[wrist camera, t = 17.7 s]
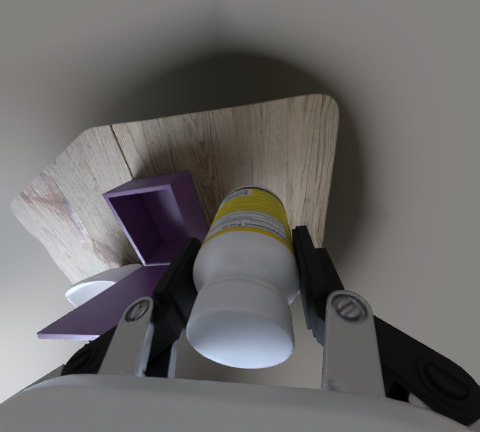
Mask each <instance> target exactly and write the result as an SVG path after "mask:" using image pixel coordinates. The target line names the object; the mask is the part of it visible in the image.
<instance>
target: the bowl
mask: <svg viewBox="0 0 480 432" xmlns="http://www.w3.org/2000/svg"><path fill="white" fill-rule="evenodd" d="M142 266H143V265H141V264H129V265H125V266H123V267H121V268H114V269H110V270H106V271H104V272H101V273H99V274H97V275H94V276H92V277H89V278H87V279H85V280H82V281H80V282H78V283H75V284H74V285H73V286H71V287H70V288H69V289H68V291H67V292H66V295H65V296H66V297H67V299H68V300H69V301H70V302H71V303H72V304H73V305H74V306H75V307H76V308H77V307H79V306H80V305H82V304H84V303H85V302H87V301H88V300H90V299H91V298H93V297H95V296H96V295H98V294H99V293H101V292H103V291H104V290H106V289H107V288H109V287H110V286H112V285H114V284H115V283H117V282H118V281H120V280H122V279H123V278H125V277H126V276H128V275H129V274H131V273H133V272H134V271H136V270H137V269H139V268H140V267H142Z"/></svg>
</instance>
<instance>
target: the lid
mask: <svg viewBox="0 0 480 432" xmlns="http://www.w3.org/2000/svg"><path fill="white" fill-rule="evenodd" d="M168 266H169V265H153V266H142V267H140V268H139V269H137V270H136V271H134V272H133V273H131V274H129V275H128V276H126V277H125V278H123V279H122V280H120V281H118V282H117V283H115V284H114V285H112V286H110V287H109V288H107V289H106V290H104V291H103V292H101V293H99V294H98V295H96V296H95V297H93V298H91V299H90V300H88V301H87V302H85V303H84V304H82V305H80V306H79V307H77V308H76V309H74V310H73V311H71V312H69V313H68V314H66V315H65V316H63V317H62V318H60V319H58V320H57V321H55V322H54V323H52V324H50V325H49V326H47V327H46V328H44V329H43V330H41V331H39V332H38V333H37V335H38V338H40V339H64V340H85V342H86V344H85V345H87V344H88V343H90V342H91V341H93V340H94V339H96V338H97V337H99V336H100V335H102V334H104V333H105V332H107V331H108V330H110V329H111V328H113V327H114V326H116V325H117V324H119V321H120V319H121V317H122V314H123V313H124V311H125V309H126V308H127V307H128V306H129V305H130V304H131V303H132V302H134V301H135V300H137V299H139V298H141V297H146V296H147V297H151V296H152V295H153V290H154V289H155V287H156V285H157V284H158V282H159V281H160V279H161V278H162V276H163V274H164V273H165V271H166V270H167V268H168ZM85 345H84V346H85Z"/></svg>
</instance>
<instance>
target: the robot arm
mask: <svg viewBox="0 0 480 432" xmlns="http://www.w3.org/2000/svg"><path fill="white" fill-rule="evenodd" d="M292 237H293V245H294V250H295V254H296V258H297V263H298V268H299V273H300V286H299V290H300V295H301V299H302V305H303V309H304V315H305V320H306V324H307V329H312V332H313V336H314V337H316V339H317V342H318V343H320V344H321V345H322V346H323V347H324V352H323V367H322V384H321V390H319V389H309V388H295V387H283V386H270V385H255V384H243V383H229V382H215V381H214V382H213V381H200V380H187V379H174V377H175V366H176V357H177V347H178V339H179V337H180V335H186V327H187V323H188V320H189V318H190V315H191V312H192V309H193V306H194V303H195V300H196V298H197V296H198V291H197V290H196V287H195V285H194V280H193V266H194V263H195V260H196V257H197V255H198V253H199V250H200V248H201V246H202V244H201V241H200V239H197V237H190V238H186V239H185V241H184V243H183V244H182V246H181V247H180V249H179V250H178V252H177V254H176V255H175V257H174V258H173V260H172V262H171V263H170V265H169V266H168V268H167V270H166V271H165V273H164V274H163V276H162V278H161V279H160V281H159V282H158V284H157V285H156V287H155V289H154V290H153V295H152V296H151V297H147V296H146V297H141V298H139V299H137V300H135V301H134V302H132V303H131V304H130V305H129V306H128V307H127V308H126V309H125V311H124V313H123V314H122V317H121V319H120V321H119V324H117V325H116V326H114V327H113V328H111V329H110V330H108V331H107V332H105V333H104V334H102V335H100V336H99V337H97V338H96V339H94V340H93V341H91V342H90V343H88V344H87V345H85V346H84V347H83V348H81V349H80V350H78V351H77V352H76V353H75V354H74V355H73V356H72V357H71V358H70V360H69V361H68V362H67V363H66V365H64V364H63V365H61V366H60V367H58V368H57V369H55V370H53V371H52V372H50V373H48V374H47V375H45V376H44V377H42V378H41V379H39V380H37V381H36V382H34V383H32V384H31V385H29V386H28V387H26V388H24V389H23V390H21V391H20V392H18V393H16V394H15V395H13V396H12V397H10V398H8V399H7V400H6V401H4V402H3V403H1V404H0V432H480V386H479V385H478V384H477V383H476V382H475V380H474V379H473V378H472V377H471V376H470V375H469V374H468V373H467V372H466V371H465V370H463V369H462V368H461V367H460V366H458V365H457V364H456V363H454V362H452V361H451V360H450V359H448V358H446V357H444V356H443V355H441V354H439V353H438V352H436V351H434V350H433V349H431V348H429V347H427V346H426V345H424V344H422V343H421V342H419V341H417V340H415V339H413V338H412V337H410V336H408V335H407V334H405V333H403V332H402V331H400V330H398V329H397V328H395V327H393V326H392V325H390V324H388V323H386V322H385V321H383V320H381V319H379V318H378V317H376V316H374V315H373V312H372V310H371V307H370V305H369V304H368V302H367V301H366V300H365V299H364V298H363V297H361V296H360V295H358V294H356V293H354V292H351V291H348V290H344V287H343V285H342V282H341V280H340V278H339V276H338V274H337V272H336V270H335V267H334V265H333V263H332V261H331V259H330V256H329V254H328V252H327V250H326V249H325V248H314V245H313V242H312V240H311V237H310V235H309V232H308V229H307V227H306V225H305V226H296V229H292Z"/></svg>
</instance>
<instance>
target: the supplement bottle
mask: <svg viewBox="0 0 480 432" xmlns="http://www.w3.org/2000/svg"><path fill="white" fill-rule="evenodd" d="M193 280H194V285H195V287H196V290H197V291H198V296H197V298H196V300H195V303H194V306H193V309H192V312H191V315H190V318H189V320H188V323H187V327H186V335H187V338H188V340H189V342H190V344H191V345H192V346H193V347H194V348H195V349H196V350H197V351H198V352H199V353H200V354H202V355H204V356H205V357H207V358H209V359H211V360H213V361H215V362H218V363H221V364H224V365H228V366H233V367H240V368H264V367H269V366H273V365H276V364H279V363H281V362H283V361H285V360H286V359H287V358H288V357H289V356H290V355H291V354H292V352H293V350H294V334H293V325H292V316H291V311H290V307H289V305H290V304H291V303H292V301H293V300H294V299H295V297H296V295H297V293H298V290H299V286H300V273H299V268H298V263H297V258H296V254H295V250H294V245H293V241H292V237H291V232H290V228H289V224H288V220H287V216H286V212H285V209H284V206H283V203H282V202H281V200H280V199H279V197H278V196H277V195H276V194H275V193H273V192H272V191H270V190H269V189H267V188H264V187H261V186H257V185H247V186H242V187H239V188H236V189H235V190H233V191H231V192H230V193H229V194H228V195H227V196H226V197H225V198H224V200H223V202H222V203H221V205H220V207H219V210H218V212H217V214H216V216H215V218H214V221H213V223H212V225H211V227H210V229H209V231H208V234H207V236H206V238H205V240H204V242H203V244H202V246H201V248H200V250H199V253H198V255H197V257H196V260H195V263H194V266H193Z"/></svg>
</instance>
